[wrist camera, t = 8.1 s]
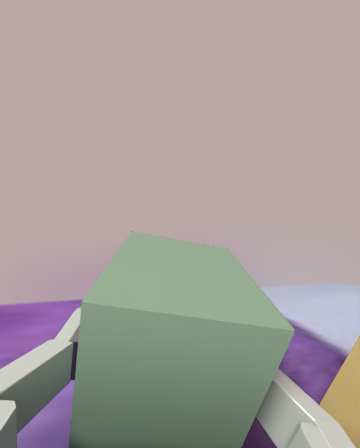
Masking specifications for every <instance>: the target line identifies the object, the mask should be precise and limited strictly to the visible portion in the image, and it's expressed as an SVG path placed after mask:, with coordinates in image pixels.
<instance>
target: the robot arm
mask: <svg viewBox="0 0 360 448" xmlns="http://www.w3.org/2000/svg"><path fill="white" fill-rule="evenodd" d="M80 315H81V307H79V308H77V309H76V310H75V311H74V313H73V314H72V316H71V317H70V318H69V320H68V321H67V322H66V324H65V325H64V327H63V328H62V329H61V331H60V332H59V334H58V335H57V336H56V338H55V339H54V340H48V341H47V342H45V343H43V344H42V345H40V346H38V347H37V348H35V349H33V350H32V351H30V352H28V353H27V354H25V355H23V356H22V357H20V358H18V359H17V360H15V361H13V362H12V363H10V364H8V365H7V366H5V367H3V368H2V369H0V448H17V434H18V433H19V432H20V431H21V430H22V429H23V428H24V427H25V426H26V425H27V424H28V423H29V422H30V421H31V420H32V419H33V418H34V417H35V416H36V415H37V414H38V413H39V412H40V411H41V410H42V409H43V408H44V407H45V406H46V405H47V404H48V403H49V402H50V401H51V400H52V399H53V398H54V397H55V396H56V395H57V394H58V393H59V392H60V391H61V390H62V389H63V388H64V387H65V386H66V385H67V384H68V383H69V382H70V380H75V373H76V362H77V350H78V338H79V327H80ZM256 418H257V419H258V421H259V422H260V423H261V425H262V426H263V428H264V429H265V431H266V432H267V434H268V435H269V436H270V438H271V439H272V441H273V442H274V444H275V445H276V447H277V448H356V447H355V446H354V444H353V443H352V442H351V440H350V439H349V437H348V436H347V434H346V433H345V431H344V430H343V428H342V427H341V425H340V424H339V423H338V422H337V421H336V420H335V419H334V418H332V417H331V416H330V415H329V414H328V413H327V412H326V411H325V410H324V409H323V408H321V407H320V406H319V405H318V404H317V403H316V402H315V401H314V400H313V399H312V398H310V397H309V396H308V395H307V394H306V393H305V392H304V391H303V390H302V389H300V388H299V387H298V386H297V385H296V384H295V383H294V382H293V381H292V380H291V379H289V378H288V377H287V376H286V375H285V374H284V373H283V372H282V371H281V370H280V369H277V372H276V374H275V376H274V378H273V380H272V382H271V384H270V387H269V389H268V391H267V393H266V395H265V397H264V400H263V402H262V404H261V406H260V408H259V410H258V413H257V415H256Z"/></svg>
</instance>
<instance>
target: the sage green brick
mask: <svg viewBox="0 0 360 448" xmlns="http://www.w3.org/2000/svg"><path fill="white" fill-rule="evenodd" d="M294 333H295V330H294V329H293V327H292V326H291V325H290V324H289V323H288V321H287V320H286V319H285V318H284V316H283V315H282V314H281V313H280V312H279V310H278V309H277V308H276V307H275V305H274V304H273V303H272V302H271V301H270V299H269V298H268V297H267V296H266V294H265V293H264V292H263V291H262V290H261V288H260V287H259V286H258V285H257V284H256V282H255V281H254V280H253V279H252V277H251V276H250V275H249V274H248V272H247V271H246V270H245V269H244V268H243V266H242V265H241V264H240V263H239V261H238V260H237V259H236V258H235V257H234V255H233V254H232V253H231V252H230V250H229V249H226V248H220V247H215V246H209V245H204V244H198V243H192V242H187V241H182V240H176V239H171V238H165V237H159V236H154V235H149V234H143V233H137V232H131V233H130V235H129V236H128V237H127V239H126V240H125V242H124V243H123V244H122V246H121V247H120V249H119V250H118V252H117V253H116V254H115V256H114V257H113V259H112V260H111V261H110V263H109V264H108V266H107V267H106V268H105V270H104V271H103V273H102V274H101V275H100V277H99V278H98V280H97V281H96V283H95V284H94V285H93V287H92V288H91V290H90V291H89V293H88V294H87V296H86V297H85V298H84V299H83V301H82V303H81V315H80V327H79V338H78V350H77V362H76V373H75V385H74V397H73V408H72V420H71V432H70V443H69V448H241V447H242V445H243V443H244V441H245V438H246V436H247V434H248V432H249V430H250V428H251V426H252V423H253V421H254V419H255V417H256V415H257V413H258V410H259V408H260V406H261V404H262V402H263V400H264V397H265V395H266V393H267V391H268V389H269V387H270V384H271V382H272V380H273V378H274V376H275V374H276V372H277V369H278V367H279V365H280V363H281V361H282V359H283V356H284V354H285V352H286V350H287V348H288V346H289V343H290V341H291V339H292V337H293V335H294Z"/></svg>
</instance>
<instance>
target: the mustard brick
mask: <svg viewBox="0 0 360 448" xmlns="http://www.w3.org/2000/svg"><path fill="white" fill-rule="evenodd" d="M319 406H320V407H321V408H323V409H324V410H325V411H326V412H327V413H328V414H329V415H330V416H331V417H332V418H334V419H335V420H336V421H337V422H338V423H339V424H340V425H341V427H342V428H343V430H344V431H345V433H346V434H347V436H348V437H349V439H350V440H351V442H352V443H353V444H354V446H355V447H356V448H360V336H359V338H358V340H357V341H356V343H355V345H354V346H353V348H352V350H351V352H350V353H349V355H348V357H347V358H346V360H345V362H344V363H343V365H342V367H341V369H340V370H339V372H338V374H337V375H336V377H335V379H334V381H333V382H332V384H331V386H330V387H329V389H328V391H327V392H326V394H325V396H324V398H323V399H322V401H321V403H320V404H319Z"/></svg>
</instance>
